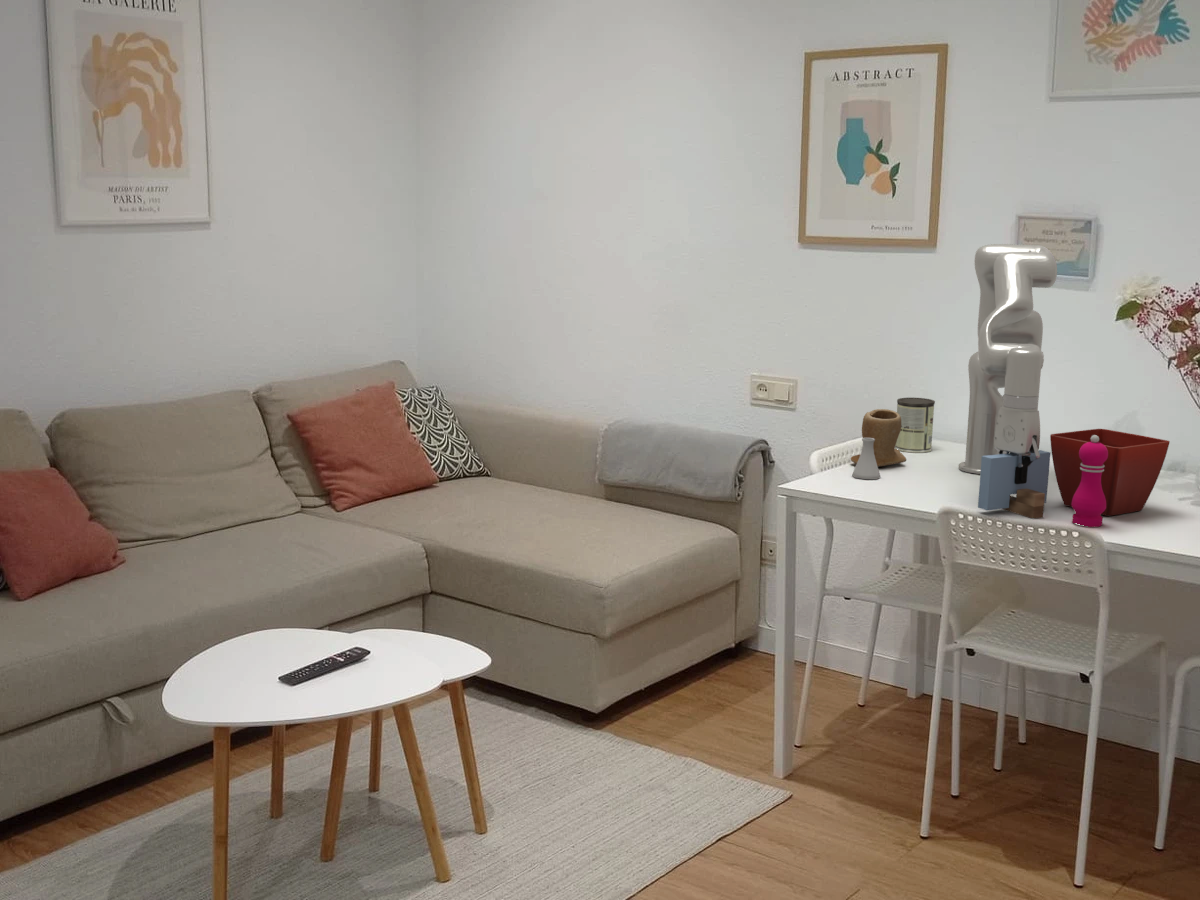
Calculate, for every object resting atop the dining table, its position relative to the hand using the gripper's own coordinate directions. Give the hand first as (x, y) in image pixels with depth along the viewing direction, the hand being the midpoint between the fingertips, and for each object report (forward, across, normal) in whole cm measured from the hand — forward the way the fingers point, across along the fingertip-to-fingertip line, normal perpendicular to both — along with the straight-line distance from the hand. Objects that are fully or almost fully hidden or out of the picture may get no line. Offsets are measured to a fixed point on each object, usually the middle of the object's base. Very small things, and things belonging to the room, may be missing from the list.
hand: (1014, 481), depth 300 cm
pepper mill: (+7, +16, +6) cm, 19 cm away
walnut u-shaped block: (+7, 0, 0) cm, 7 cm away
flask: (+7, -42, -9) cm, 43 cm away
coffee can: (+7, -66, +26) cm, 71 cm away
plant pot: (+7, +7, +21) cm, 23 cm away
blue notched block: (+6, 0, 0) cm, 6 cm away
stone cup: (+7, -52, +4) cm, 52 cm away
